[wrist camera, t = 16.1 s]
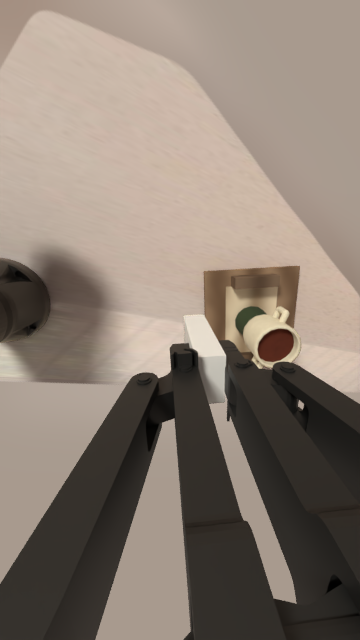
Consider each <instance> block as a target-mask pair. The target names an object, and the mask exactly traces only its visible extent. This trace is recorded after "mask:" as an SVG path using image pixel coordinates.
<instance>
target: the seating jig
mask: <svg viewBox="0 0 360 640" xmlns="http://www.w3.org/2000/svg"><path fill="white" fill-rule="evenodd" d="M299 270H300V266H286V267H270V268H253V269H236V270H219V271H204V300H205V318H206V320H207V321H208V323H209V325H210V327H211V329H212V331H213V332H214V334H215V336H216V338H217V340H230V341H231V342H233V343H234V344H235V345H236V347H237V348H238V350H239V351H240V353H241V354H242V356H243V357H244V358H245V359H249V360H251V361H252V358H253V356H254V355H253V353H252V352H251V351H250V349H249V348H248V347H247V345H246V344H245V342H244V337H243V335H242V334H240V333H239V331H238V330H237V328H236V325H235V319H236V317H237V314H238V313H239V312H240V311H241V310H242V309H244V308H247V307H250V306H255V307H259V308H261V309H262V310H264V312H265V313H266V314H267V315H273V314H274V312H275V310H276V308H277V307H279V306H281V307H283V308H285V309H286V310H288V311H289V316H288V318H287V320H286V322H285V323H286V324H287V325H289V326H290V327H291V328H293V326H294V317H295V307H296V298H297V288H298V279H299ZM281 315H282V314H280V316H279V318H278V319H280V317H281ZM258 362H259V361H258Z"/></svg>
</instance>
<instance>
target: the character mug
mask: <svg viewBox="0 0 360 640" xmlns="http://www.w3.org/2000/svg"><path fill="white" fill-rule="evenodd" d="M280 314H282V315H281V317H280V319H278V318H279V316H280ZM288 316H289V311H288V310H286V309H285V308H283V307H281V306H279V307H277V308H276V310H275V312H274V314H273V315H267V314H266V313H265V312H264V310H262V309H261V308H259V307H255V306H250V307H247V308H244V309H242V310H241V311H240V312H239V313H238V314H237V317H236V319H235V325H236V328H237V330H238V331H239V333H240V334H242V335H243V337H244V342H245V344H246V345H247V347H248V348H249V349H250V351H251V352H252V353H253V355H254V356H253V358H252V361H253V362H254V363H255V364H256V365H257V367H258V368H259V369H263V367H264V366H265V367H267V368H273V365H274V364H275V363H277V362H290V363H292V362H293V361H294V360H295V359H296V358H297V356H298V355H299V353H300V350H301V339H300V337H299V335H298V334H297V332H296V331H295V330H294V329H293V328H291V327H290V326H289V325H287V324H286V323H285V322H286V320H287V318H288ZM258 361H259V362H258Z"/></svg>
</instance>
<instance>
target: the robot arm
mask: <svg viewBox="0 0 360 640" xmlns="http://www.w3.org/2000/svg"><path fill="white" fill-rule="evenodd" d="M49 312H50V299H49V295H48V292H47V290H46V287H45V286H44V284H43V282H42V281H41V280H40V278H39V277H38V276H37V275H36V274H35V273H34V272H33V271H32V270H30V269H29V268H28V267H26V266H25V265H23V264H21V263H19V262H16V261H13V260H10V259H4V258H0V343H4V342H10V341H16V340H21V339H24V338H26V337H28V336H30V335H32V334H33V333H35V332H36V331H38V330H39V329H40V328H41V327H42V326H43V325H44V324H45V322H46V320H47V318H48V316H49ZM183 318H184V343H183V344H173V345H172V346H171V347H170V359H171V372H170V373H169V374H168V375H166V376H164V377H161V378H158V377H157V375H155V374H153V373H140V374H137V375H135V376H133V377H132V378H131V379H130V381H129V382H128V384H127V385H126V387H125V389H124V390H123V392H122V393H121V395H120V396H119V398H118V400H117V401H116V403H115V405H114V406H113V407H112V409H111V411H110V412H109V414H108V415H107V417H106V418H105V420H104V422H103V423H102V425H101V426H100V428H99V429H98V431H97V433H96V434H95V436H94V437H93V439H92V441H91V442H90V444H89V445H88V447H87V449H86V450H85V451H84V453H83V455H82V456H81V458H80V459H79V461H78V462H77V464H76V466H75V467H74V469H73V471H72V472H71V474H70V475H69V477H68V478H67V480H66V481H65V483H64V485H63V486H62V488H61V490H60V491H59V492H58V494H57V496H56V497H55V499H54V500H53V502H52V503H51V505H50V507H49V508H48V510H47V511H46V513H45V514H44V516H43V518H42V519H41V521H40V522H39V524H38V525H37V527H36V529H35V530H34V532H33V534H32V535H31V537H30V538H29V540H28V541H27V543H26V545H25V546H24V548H23V549H22V551H21V552H20V554H19V555H18V557H17V559H16V560H15V562H14V563H13V565H12V566H11V568H10V570H9V571H8V573H7V574H6V576H5V578H4V579H3V581H2V582H1V584H0V640H95V638H96V635H97V632H98V629H99V625H100V622H101V619H102V616H103V613H104V609H105V606H106V603H107V600H108V597H109V594H110V590H111V587H112V584H113V581H114V578H115V574H116V571H117V568H118V565H119V561H120V558H121V555H122V552H123V549H124V546H125V542H126V539H127V536H128V533H129V530H130V527H131V523H132V520H133V517H134V514H135V511H136V507H137V504H138V501H139V498H140V494H141V492H142V488H143V485H144V482H145V479H146V476H147V472H148V469H149V466H150V463H151V459H152V456H153V453H154V450H155V447H156V444H157V440H158V437H159V434H160V431H161V428H162V422H165V421H168V420H171V419H173V418H175V429H176V442H177V455H178V467H179V481H180V494H181V507H182V520H183V533H184V546H185V559H186V571H187V585H188V598H189V613H190V627H191V632H190V633H189V634H188V635H187V636H186V638H184V640H360V404H359V403H357V402H355V401H354V400H352V399H351V398H349V397H347V396H346V395H344V394H343V393H341V392H340V391H338V390H336V389H335V388H333V387H332V386H330V385H328V384H327V383H325V382H324V381H322V380H320V379H319V378H317V377H316V376H314V375H312V374H311V373H309V372H308V371H306V370H305V369H303V368H301V367H300V366H298V365H296V364H293V363H290V362H277V363H275V364H274V365H273V369H272V370H266V369H259V368H258V367H257V365H256V364H255V363H254V362H253V361H251V360H249V359H245V358H244V357H243V356H242V354H241V353H240V351H239V350H238V348H237V347H236V345H235V344H234V343H233V342H231V341H230V340H217V338H216V336H215V334H214V332H213V331H212V329H211V327H210V325H209V323H208V321H207V320H206V318H205V316H204V314H200V315H184V316H183ZM225 394H226V396H227V399H228V401H227V421H229V419H230V416H231V419H232V422H233V424H234V427H235V429H236V432H237V435H238V437H239V440H240V442H241V445H242V448H243V450H244V453H245V456H246V458H247V461H248V463H249V466H250V468H251V471H252V474H253V476H254V479H255V482H256V484H257V487H258V489H259V492H260V495H261V497H262V500H263V503H264V505H265V508H266V510H267V513H268V515H269V518H270V520H271V523H272V526H273V529H274V531H275V534H276V536H277V539H278V542H279V544H280V547H281V550H282V552H283V555H284V557H285V560H286V562H287V565H288V568H289V570H290V573H291V576H292V579H293V584H294V589H295V595H296V602H297V604H295V603H290V602H286V601H282V600H277V599H273V596H272V592H271V590H270V586H269V584H268V580H267V576H266V574H265V570H264V567H263V564H262V560H261V557H260V554H259V551H258V548H257V544H256V541H255V538H254V535H253V533H252V530H251V527H250V525H249V524H248V522H247V521H244V520H243V518H242V516H241V513H240V510H239V506H238V503H237V499H236V496H235V492H234V489H233V486H232V482H231V479H230V476H229V472H228V469H227V465H226V462H225V458H224V454H223V451H222V448H221V444H220V441H219V437H218V434H217V430H216V427H215V424H214V420H213V417H212V413H211V410H210V406H209V404H211V403H224V402H225ZM299 400H300V401H302V402H303V403H304V408H303V410H302V409H301V408H299V407H298V402H299Z"/></svg>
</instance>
